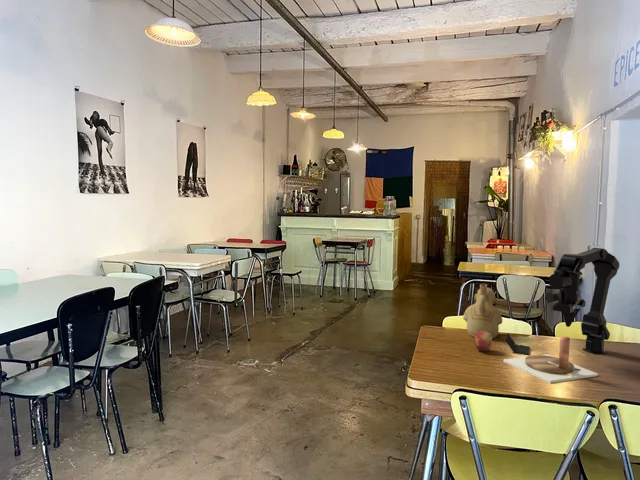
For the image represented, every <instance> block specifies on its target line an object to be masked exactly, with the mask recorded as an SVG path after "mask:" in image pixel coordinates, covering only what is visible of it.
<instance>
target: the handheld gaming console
mask: <svg viewBox="0 0 640 480" xmlns="http://www.w3.org/2000/svg"><path fill="white" fill-rule="evenodd" d="M504 341H505V343H506V344H507V345H508V347H509V348H510V349H511V351H512V354H514V355H515V354H517V355H524V356H530V355H529V354H530V348H531V346H529V345H523V344H517V343H516V342H515V341H514V339H513V338H512V337H511V335H510V334H509V333H508V332H507V333H506V335H505V337H504Z"/></svg>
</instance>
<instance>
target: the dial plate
mask: <svg viewBox="0 0 640 480" xmlns="http://www.w3.org/2000/svg"><path fill="white" fill-rule="evenodd" d="M543 355H544V356H551V357H555V356H553V355H551V354H547V353H546V354H543ZM526 357H527V356H523V357H522V356H520V357H513V358H505V359H503V361H502V362H503V363H505V364H508V365H510V366H512V367H514V368H516V369H519V370H521V371H523V372H525V373H527V374H529V375H532V376H534V377H535V378H536V377H537V379H540V380H542V381H545V382H546V383H548V384H553V383H559V382H566V381H573V380H580V379H587V378H592V377H593V378H594V377H598V376H599V374H598V373H597V372H595V371H592V370H590V369H587V368H584V367H582V366H579V365H577V364H574V363H572V364H573V365H574V371H573V372H571V373H565V374H557V373H549V372H544V371H540V370H536V369H534V368H531V367H529V366H528V365H526V363H525V358H526Z"/></svg>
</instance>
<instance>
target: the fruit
mask: <svg viewBox="0 0 640 480" xmlns="http://www.w3.org/2000/svg"><path fill="white" fill-rule="evenodd" d="M472 337H473V336H472ZM492 340H493V338H492V335H491V334H489V333H488V332H485V331H481V332H478V333H477V334H476V335H475V336H474V337H473V340H472V341H473V344H474V346H475V348H476V349H477V350H478V351H481V352H487V351H490V350H491V349H492V344H493V343H492Z"/></svg>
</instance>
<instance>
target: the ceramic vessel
mask: <svg viewBox="0 0 640 480" xmlns="http://www.w3.org/2000/svg"><path fill="white" fill-rule="evenodd" d="M494 294H495V292H494V290H493V289H492V288H490V287H488V284H486V283H480V284H479V289H478V290H477V293H475V294H474V298H473V300H474V301H475V303H473V304H471V305H469V306H468V307H467V308H466V309H465V312H464V313H463V318H462V319H463V320H464V321H465V322H466V331H467V333H468V335H469V336H471V337H474V336H475V335H476V334H477V333H478V332H481V331H485V332H488V333H489V334H491V335H492V339H495V338H496V337H497V336H498V334H499V330H500V329H499V326H500V325H502V324H503V316H502V313H501V311H500V310H499V309H498V308H497V307H495V306H494V305H493V304H495V302H496V299H497V298H496V296H495V295H494Z"/></svg>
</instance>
